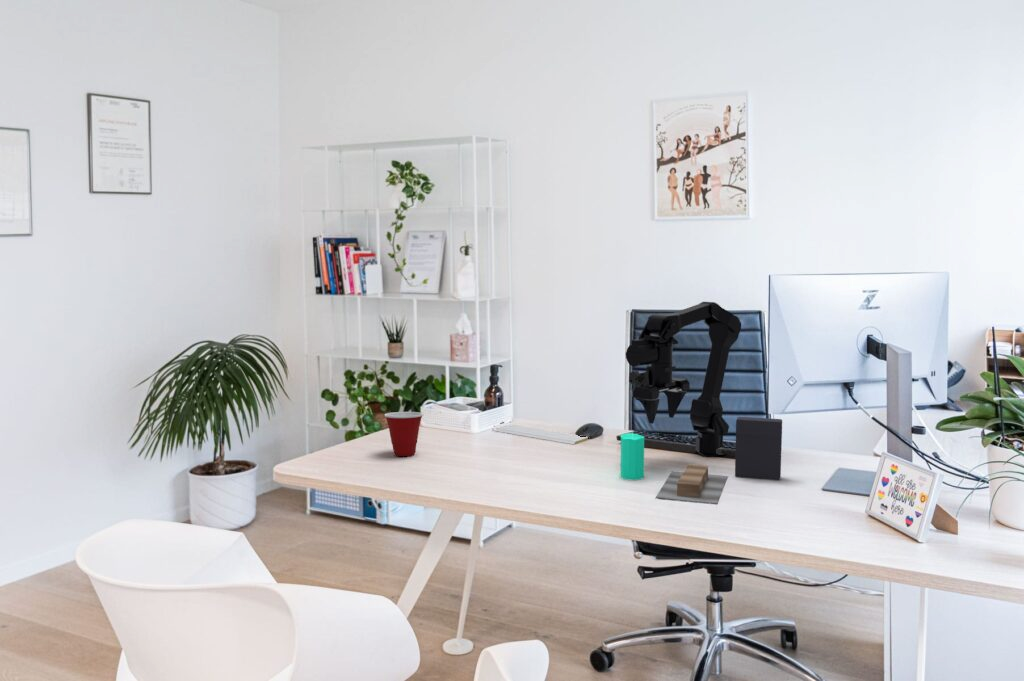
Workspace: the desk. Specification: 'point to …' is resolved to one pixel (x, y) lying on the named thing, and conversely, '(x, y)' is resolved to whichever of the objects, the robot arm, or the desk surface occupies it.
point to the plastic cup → (404, 431)
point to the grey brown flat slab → (693, 485)
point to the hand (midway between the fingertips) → (661, 420)
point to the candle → (632, 456)
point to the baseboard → (541, 434)
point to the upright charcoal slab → (758, 448)
